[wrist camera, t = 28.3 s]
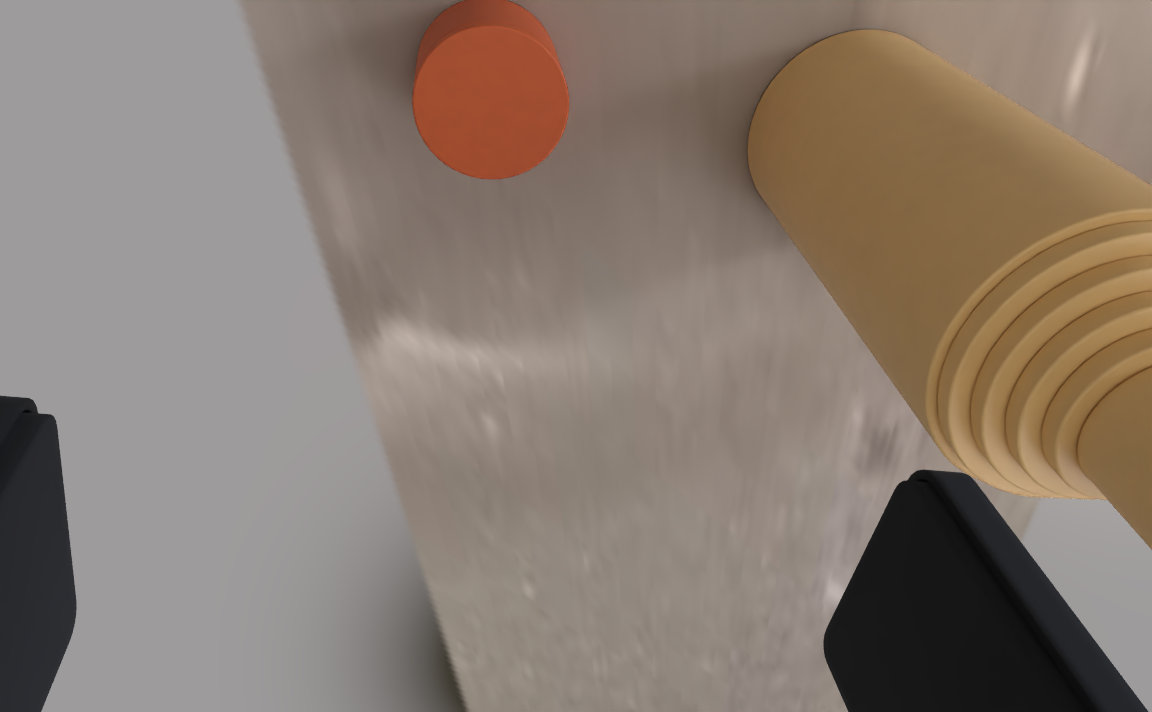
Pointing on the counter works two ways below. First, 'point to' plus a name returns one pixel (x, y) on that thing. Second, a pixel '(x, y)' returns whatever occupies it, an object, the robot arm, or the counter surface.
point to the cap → (489, 89)
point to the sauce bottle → (973, 262)
